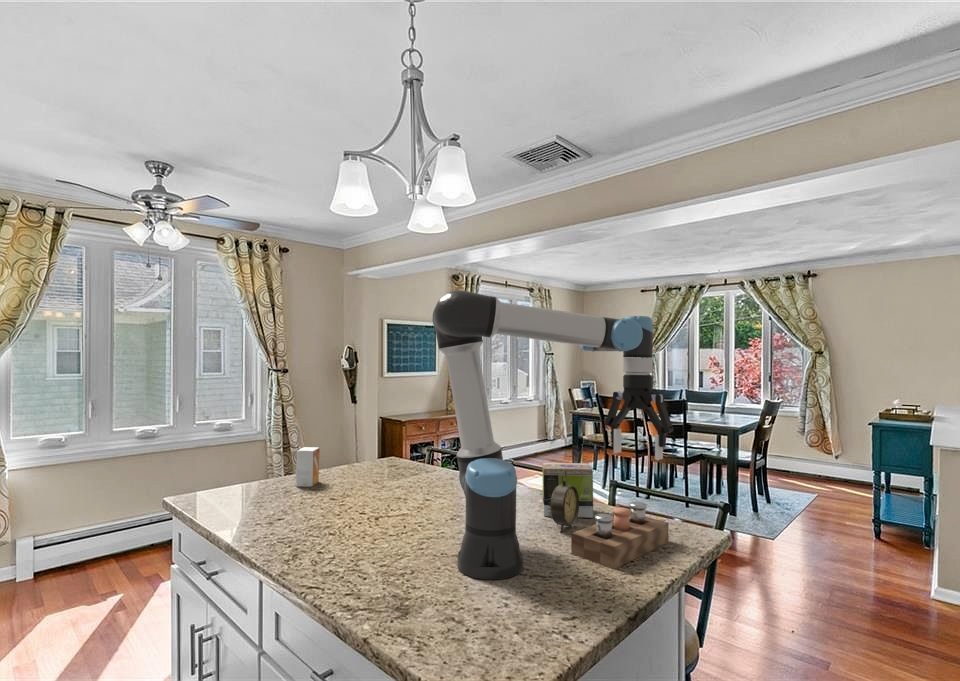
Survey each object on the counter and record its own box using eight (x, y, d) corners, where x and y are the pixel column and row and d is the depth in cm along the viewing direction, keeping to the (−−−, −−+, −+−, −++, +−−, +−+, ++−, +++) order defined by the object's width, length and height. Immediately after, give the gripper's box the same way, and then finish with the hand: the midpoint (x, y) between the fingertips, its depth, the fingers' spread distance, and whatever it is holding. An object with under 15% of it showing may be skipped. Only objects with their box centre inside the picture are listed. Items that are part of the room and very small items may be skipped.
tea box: (589, 509, 162) (589, 462, 163) (593, 519, 152) (593, 469, 153) (542, 507, 164) (542, 461, 164) (542, 517, 154) (543, 467, 154)
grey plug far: (641, 526, 132) (641, 507, 132) (626, 522, 135) (626, 503, 135) (649, 523, 135) (649, 504, 135) (634, 519, 138) (634, 500, 138)
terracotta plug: (624, 534, 127) (624, 513, 127) (609, 529, 130) (609, 509, 130) (633, 530, 130) (634, 510, 130) (618, 525, 133) (618, 506, 133)
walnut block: (614, 569, 116) (614, 547, 116) (571, 553, 125) (571, 533, 125) (668, 541, 134) (668, 522, 134) (627, 530, 143) (627, 512, 143)
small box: (312, 487, 185) (313, 450, 186) (295, 486, 185) (296, 450, 186) (319, 481, 193) (320, 446, 194) (302, 481, 193) (303, 446, 194)
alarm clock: (564, 535, 138) (565, 475, 138) (546, 531, 141) (547, 472, 141) (580, 524, 147) (580, 468, 148) (562, 521, 150) (563, 465, 151)
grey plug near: (606, 541, 121) (606, 520, 121) (591, 536, 124) (591, 516, 124) (616, 537, 124) (616, 516, 124) (601, 532, 127) (601, 512, 127)
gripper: (687, 375, 131) (687, 461, 130) (607, 372, 148) (606, 448, 147) (674, 375, 125) (674, 465, 125) (592, 372, 143) (591, 451, 142)
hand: (637, 455), depth 136 cm, fingers open, 11 cm apart
